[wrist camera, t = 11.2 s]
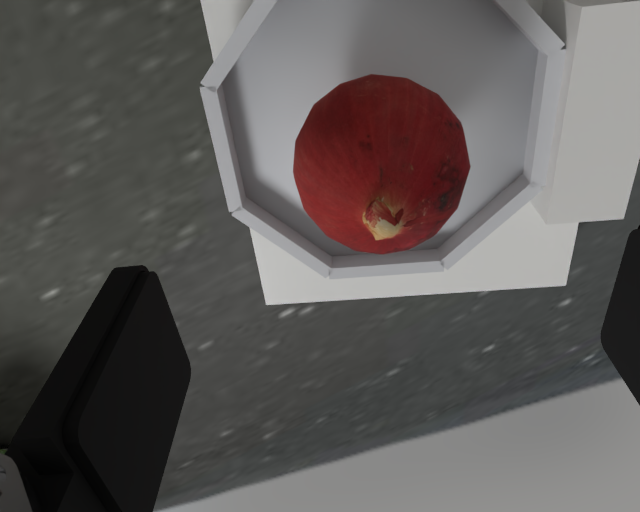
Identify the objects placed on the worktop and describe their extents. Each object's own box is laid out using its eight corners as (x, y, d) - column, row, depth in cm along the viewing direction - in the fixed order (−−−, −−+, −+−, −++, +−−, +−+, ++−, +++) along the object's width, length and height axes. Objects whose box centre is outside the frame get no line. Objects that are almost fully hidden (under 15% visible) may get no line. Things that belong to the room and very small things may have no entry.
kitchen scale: (188, -150, 19) (128, -181, 14) (635, -216, 18) (767, -280, 12) (272, 273, 30) (257, 349, 25) (551, 253, 29) (601, 330, 23)
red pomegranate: (463, 61, 18) (534, 139, 12) (428, 199, 22) (469, 322, 15) (306, 44, 18) (289, 113, 12) (295, 186, 21) (276, 304, 15)
